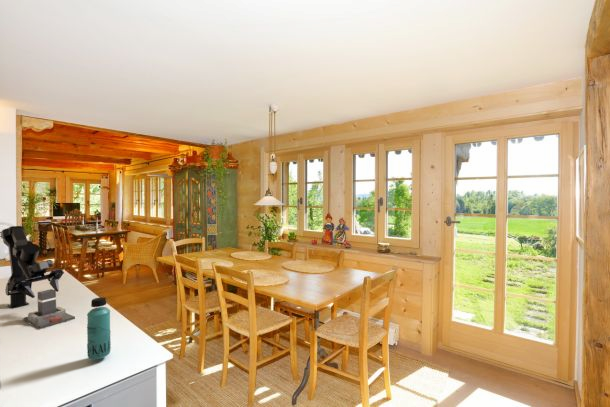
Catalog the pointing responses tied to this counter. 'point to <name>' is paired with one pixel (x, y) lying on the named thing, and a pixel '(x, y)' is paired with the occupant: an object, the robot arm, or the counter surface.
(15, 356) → the counter surface
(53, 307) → the plug block
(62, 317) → the grey socket base
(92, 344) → the beverage bottle
